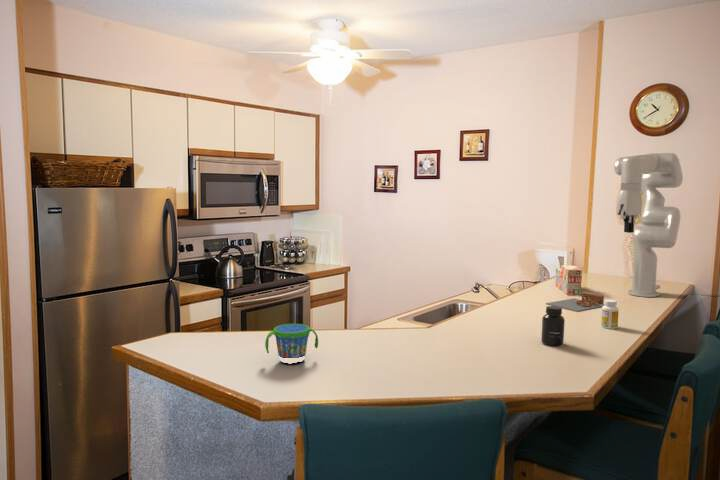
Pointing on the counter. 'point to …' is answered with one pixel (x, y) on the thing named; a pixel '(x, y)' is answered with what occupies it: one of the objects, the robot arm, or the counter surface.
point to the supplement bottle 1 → (553, 326)
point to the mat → (573, 305)
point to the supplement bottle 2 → (610, 315)
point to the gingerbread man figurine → (590, 299)
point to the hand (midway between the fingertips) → (628, 232)
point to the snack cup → (291, 340)
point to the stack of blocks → (569, 279)
